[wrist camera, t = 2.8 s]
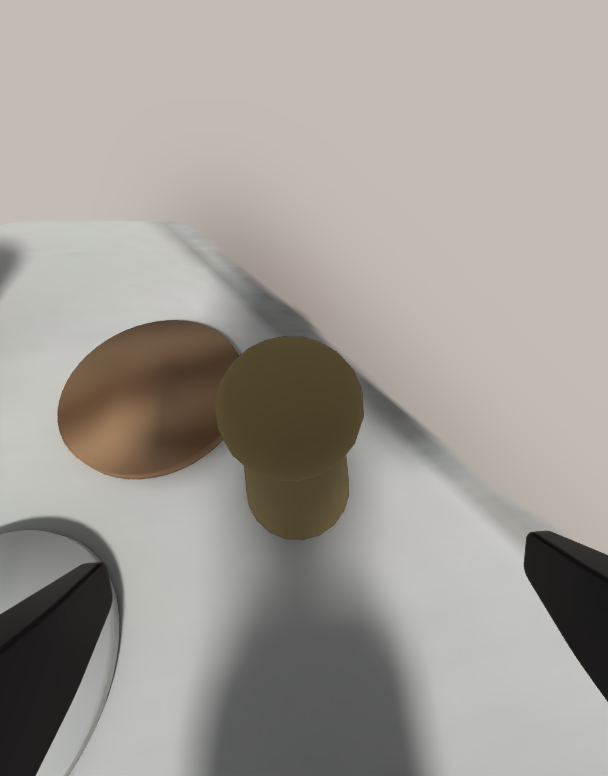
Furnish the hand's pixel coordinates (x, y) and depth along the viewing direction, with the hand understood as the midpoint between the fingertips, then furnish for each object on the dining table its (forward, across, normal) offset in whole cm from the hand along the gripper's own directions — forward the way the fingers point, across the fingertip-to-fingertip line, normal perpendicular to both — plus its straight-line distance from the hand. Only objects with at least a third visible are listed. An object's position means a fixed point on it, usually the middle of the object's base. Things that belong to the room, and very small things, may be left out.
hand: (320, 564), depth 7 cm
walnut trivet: (+17, +10, 0) cm, 20 cm away
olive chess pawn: (+12, 0, +5) cm, 13 cm away
